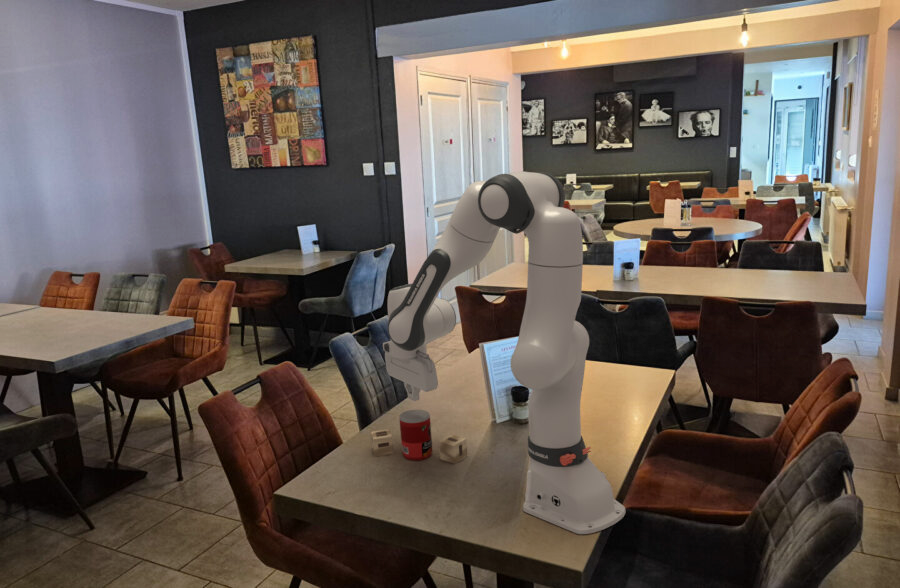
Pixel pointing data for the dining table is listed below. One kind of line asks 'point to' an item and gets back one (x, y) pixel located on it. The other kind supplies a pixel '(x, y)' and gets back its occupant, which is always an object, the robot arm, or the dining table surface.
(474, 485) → the dining table surface
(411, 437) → the canned food
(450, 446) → the marked cube near
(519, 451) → the dining table surface
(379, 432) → the marked cube far
